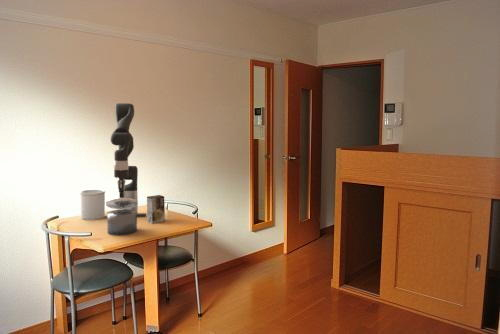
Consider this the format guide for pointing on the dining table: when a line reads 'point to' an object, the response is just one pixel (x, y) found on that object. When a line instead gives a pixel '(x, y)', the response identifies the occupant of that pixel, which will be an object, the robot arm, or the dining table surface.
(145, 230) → the dining table surface
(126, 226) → the steel pot
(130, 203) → the pot lid
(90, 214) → the utensil holder
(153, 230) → the dining table surface
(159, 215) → the coffee box
